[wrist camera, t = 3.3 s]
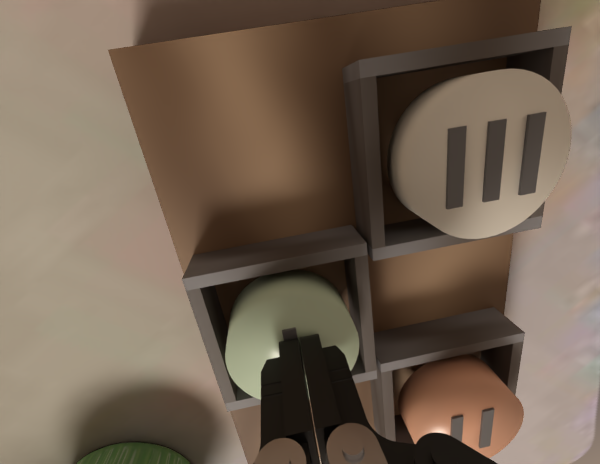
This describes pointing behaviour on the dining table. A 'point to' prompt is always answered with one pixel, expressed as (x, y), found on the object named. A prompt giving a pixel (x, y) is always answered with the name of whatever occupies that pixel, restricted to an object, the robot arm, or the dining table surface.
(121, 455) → the ramekin
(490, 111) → the button cream
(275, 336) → the button sage
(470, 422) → the button terracotta
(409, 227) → the button panel
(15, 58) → the dining table surface
